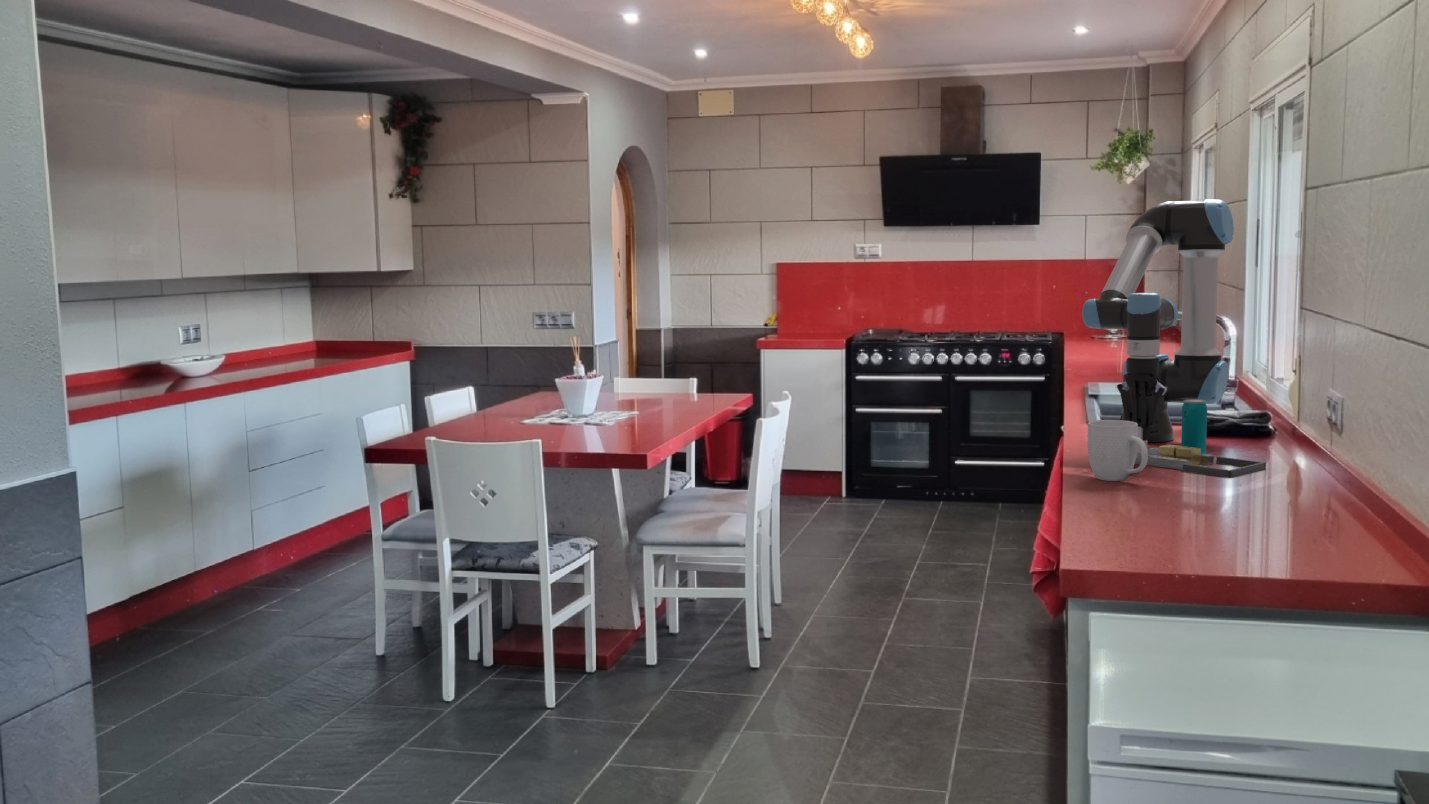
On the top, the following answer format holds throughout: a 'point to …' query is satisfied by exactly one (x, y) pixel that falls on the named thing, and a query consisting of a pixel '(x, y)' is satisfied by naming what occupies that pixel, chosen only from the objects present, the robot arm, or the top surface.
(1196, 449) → the tan cardboard cube
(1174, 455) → the tan block
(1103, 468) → the mug
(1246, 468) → the tray
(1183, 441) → the beverage can
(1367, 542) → the top surface
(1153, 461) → the slot board
